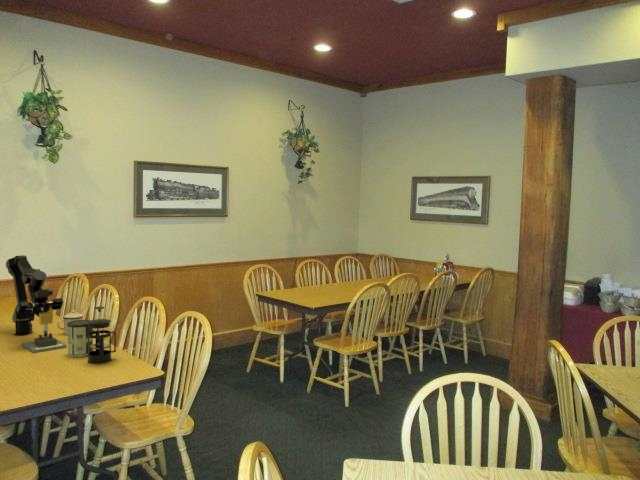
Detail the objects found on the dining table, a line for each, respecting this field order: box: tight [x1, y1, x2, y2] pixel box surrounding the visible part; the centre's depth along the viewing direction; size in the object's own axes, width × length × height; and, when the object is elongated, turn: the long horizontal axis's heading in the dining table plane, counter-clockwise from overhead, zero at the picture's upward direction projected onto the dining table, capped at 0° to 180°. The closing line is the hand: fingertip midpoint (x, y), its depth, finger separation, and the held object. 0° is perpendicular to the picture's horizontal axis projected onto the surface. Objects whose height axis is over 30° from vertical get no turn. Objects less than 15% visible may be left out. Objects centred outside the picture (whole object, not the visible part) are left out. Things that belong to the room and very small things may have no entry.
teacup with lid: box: [56, 309, 84, 336], centre depth 268 cm, size 12×9×12 cm
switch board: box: [21, 332, 67, 354], centre depth 245 cm, size 16×14×6 cm
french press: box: [87, 306, 117, 365], centre depth 226 cm, size 12×9×23 cm
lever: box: [38, 311, 54, 337], centre depth 242 cm, size 2×5×11 cm, turn 135°
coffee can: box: [67, 319, 94, 358], centre depth 235 cm, size 10×10×14 cm
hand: (45, 320), depth 243 cm, fingers closed, pressing on lever
